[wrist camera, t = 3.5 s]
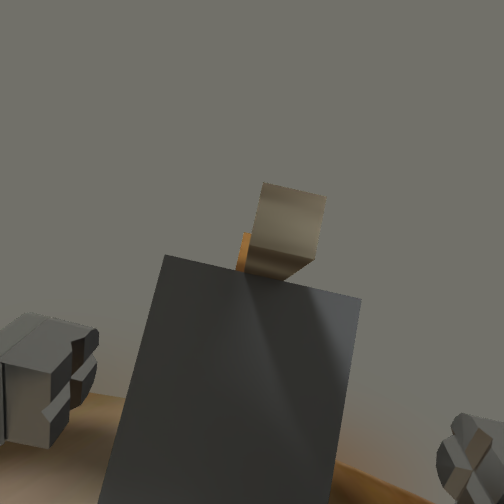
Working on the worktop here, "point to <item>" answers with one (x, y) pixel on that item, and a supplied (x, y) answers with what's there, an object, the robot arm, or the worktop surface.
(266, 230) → the bar
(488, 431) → the robot arm
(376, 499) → the worktop surface
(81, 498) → the worktop surface
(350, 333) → the cabinet
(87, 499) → the worktop surface
